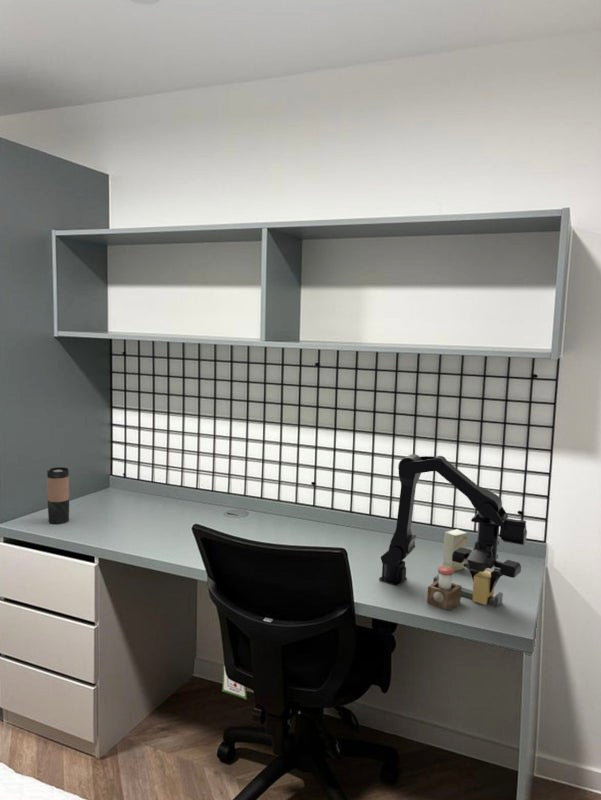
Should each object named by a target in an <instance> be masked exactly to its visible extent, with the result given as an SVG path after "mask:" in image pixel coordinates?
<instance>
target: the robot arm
mask: <svg viewBox="0 0 601 800" xmlns="http://www.w3.org/2000/svg"><path fill="white" fill-rule="evenodd" d="M397 468H398V478H399V481H400V493H399V500H398V507H397V508H398V510H397V517H396V519H397V520H396V527H395V531H394V533H393V535H392V536H391V537H392V538H391V540H390V543H389V546H388V550H387V551H385V553H383V554H382V555H381V556H380V560H381V563H382V569H381V570H382V571H381V576H380V577H378V579H379V581H382V582H385V583H387V584H391V585H394V586H399V585H400V584H402V583H403V582H405V581H407V579H408V578H407V566H406V561H404V560H405V559H406V558H407V557H408V556H409V555H410V554H411V553H412V551H413V550H414V549H415V548H416V539H417V535H416V534H412V529H411V527H412V522H413V521H412V519H413V514H414V513H413V511H414V504H415V495H416V487H417V484H418V481H419V479H420V477H421V474H422V473H429V472H436V473H437V474H439V475H440V476H441V477H443V479H445V481H447V482H448V483H450V484H451V485H452V486H453V487H455V488H456V490H458V491H459V492H460V493H462V494H463V495H464V496H465V497H467V499H468V500H469V501H470V503H471V505H472V506H473V508H474V509H475V510H476V511H477V514H476V515H474V516H473V517H472V518H471V519H470V521H471V522H472V523H477V534H476V541H475V542H474V547H473V550H472V549H469V548H467V547H466V548H462V547H460V548H459V549H457V550H455V551H454V552H453V553H452V561H454V562H458V563H462V562H463V561H464V559H465V564H464V567H465V568H466V569H467V570H468V571H469V572H470V573H469V574H470V576H471V579H472V582H473V583H474V576H475V575H476V574H477V573H479V572H484V571H486V569H490V570H491V569H493V571H492V570H491V571H490V572H491V583H490V593H491V592H492V591H493V589H494V590H495V588H496V585H497V583H498V581H499V580H500V578H501V577H503V576H504V577H508V578H515V577H517V576H518V575H520V573H521V572H522V566H521V564H520V562H518V561H514V560H510V559H507V560H505V561H504V562H502V561H499V560H498V559H499V554H498V546H499V545H500V540H501V541H503V542H504V543H509V544H513V545H519V546H522V547H523V546H525V545H526V541H527V535H528V530H527V521H526V520H523V519H514V518H513V519H512V518H509V515H508V513H507V511H506V510H505V508H504V507H503V502H502V499H501V497H500V496H499V495H497V494H496V493H495V492H492V491H491V490H488V489H486V488H484V487H482V486H480V485H478V484H477V483H476V482H474V481H473V480H471V478H469V477H468V476H466V475H465V474H464V473H463V472H462V471H461V470H459V469H458V468H457V467H456V466H454V465H453V464H452V463H450V462H449V461H448V460H447V459H446V457H444V456H443V455H437V456H433V455H431V456H430V455H422V456H420V455H418V454H416V453H413V454H409V455H407V456H406V457H404V458H402V459H401V460H400V461H399V462H398V467H397ZM499 529H500V530H499ZM499 538H500V540H499Z"/></svg>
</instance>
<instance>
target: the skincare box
mask: <svg viewBox="0 0 601 800" xmlns="http://www.w3.org/2000/svg"><path fill="white" fill-rule="evenodd" d="M467 536H468V532H467V531H464V530H460V529H458V528H456V529H452V530H446V531H445V532H444V541H443V553H442V555H443V557H442V566H446V567H450V568H452V569H454V572H456V571H460V570H463V568H464V569H465V568H466V567H464V564H465V559H464V561H463V562H462V563H458V562H454V561H452V553H453V552H454V551H455V550H457V549H459V548H460V547H462V548H466V549H467Z"/></svg>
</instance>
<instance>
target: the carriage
mask: <svg viewBox="0 0 601 800" xmlns="http://www.w3.org/2000/svg"><path fill="white" fill-rule="evenodd" d="M491 572H492V571H487V570H485V571H484V572H479V573H477V574H476V575H475V576H474V583H473V585H472V591H473V599H471V600H472V602H475V603H479V604H481V605H485V606H487V605H488V604H487V599H488V598H489V597H490V596H492V597H495V596H494V594H495V588H494V589H493V591H492V592H491V593H490V583H491Z"/></svg>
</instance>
